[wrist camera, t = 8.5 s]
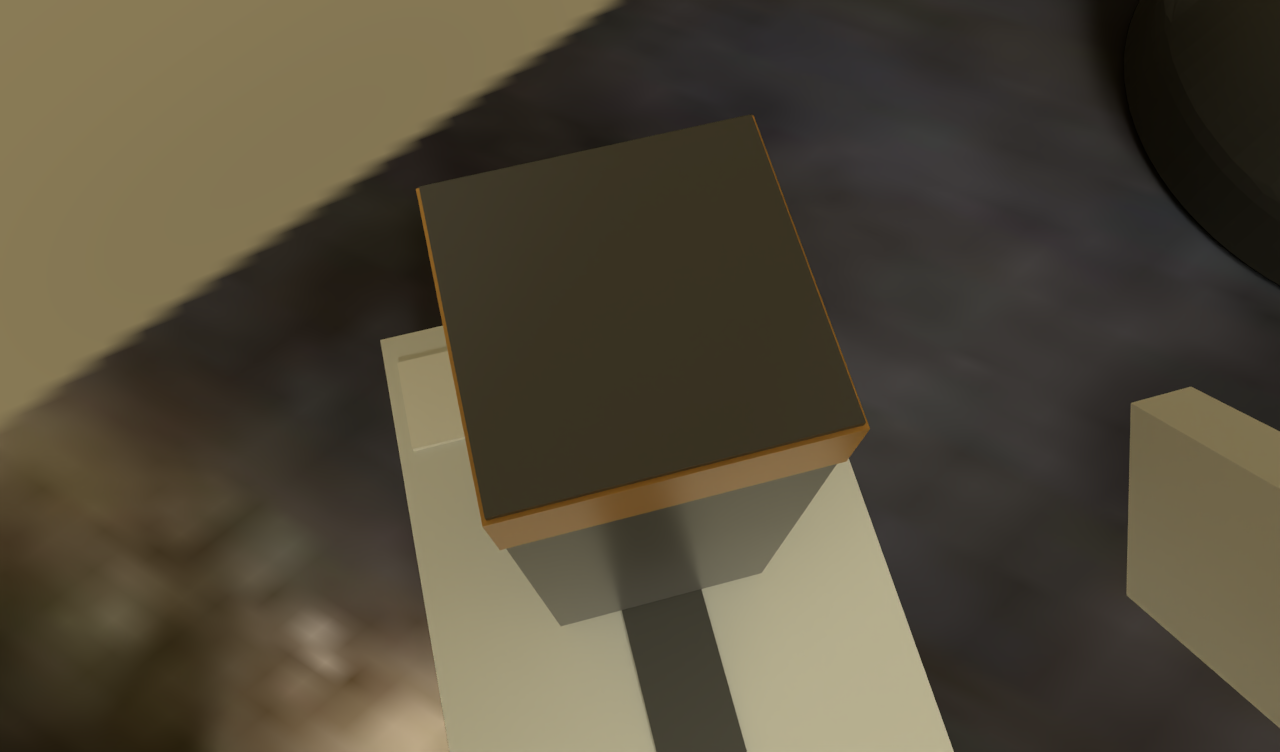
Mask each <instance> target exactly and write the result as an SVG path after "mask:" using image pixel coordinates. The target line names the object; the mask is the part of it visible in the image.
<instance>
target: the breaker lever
mask: <svg viewBox="0 0 1280 752" xmlns="http://www.w3.org/2000/svg"><path fill="white" fill-rule="evenodd" d="M416 192H417V197H418V202H419V207H420V213H421V218H422V223H423V228H424V233H425V238H426V243H427V248H428V253H429V258H430V263H431V268H432V273H433V278H434V284H435V289H436V294H437V299H438V304H439V309H440V314H441V319H442V324H443V329H444V334H445V339H446V344H447V350H448V355H449V360H450V365H451V370H452V375H453V380H454V385H455V390H456V395H457V400H458V405H459V410H460V415H461V421H462V426H463V431H464V436H465V441H466V446H467V451H468V456H469V461H470V466H471V471H472V476H473V481H474V486H475V492H476V497H477V502H478V507H479V512H480V517H481V522H482V527H483V528H484V530H485V531H486V532H487V534H488V535H489V536H490V538H491V539H492V540H493V542H494V543H495V544H496V546H497V547H498V548H499V550H503V549H507V551H508V552H509V554H510V555H511V556H512V558H513V559H514V561H515V562H516V563H517V565H518V566H519V568H520V569H521V571H522V572H523V573H524V575H525V576H526V578H527V579H528V581H529V582H530V583H531V585H532V586H533V588H534V589H535V590H536V592H537V593H538V595H539V596H540V598H541V599H542V600H543V602H544V603H545V605H546V606H547V608H548V609H549V610H550V612H551V613H552V615H553V616H554V617H555V619H556V620H557V622H558V623H559V625H560V626H564V625H568V624H572V623H575V622H579V621H583V620H587V619H590V618H594V617H598V616H602V615H605V614H609V613H613V612H617V611H621V610H624V609H628V608H632V607H636V606H639V605H643V604H647V603H651V602H654V601H658V600H662V599H666V598H670V597H673V596H677V595H681V594H685V593H688V592H692V591H696V590H700V589H703V588H707V587H711V586H715V585H719V584H722V583H726V582H730V581H734V580H737V579H741V578H745V577H749V576H752V575H756V574H760V573H762V572H763V570H764V569H765V567H766V566H767V564H768V563H769V562H770V560H771V559H772V557H773V556H774V554H775V553H776V551H777V550H778V549H779V547H780V546H781V544H782V543H783V541H784V540H785V538H786V537H787V536H788V534H789V533H790V531H791V530H792V528H793V527H794V525H795V524H796V523H797V521H798V520H799V518H800V517H801V515H802V514H803V512H804V511H805V510H806V508H807V507H808V505H809V504H810V502H811V501H812V499H813V498H814V497H815V495H816V494H817V492H818V491H819V489H820V488H821V486H822V485H823V484H824V482H825V481H826V479H827V478H828V476H829V475H830V473H831V472H832V471H833V469H834V468H835V466H836V465H837V464H839V463H843V462H846V461H847V460H848V458H849V457H850V456H851V454H852V453H853V452H854V450H855V449H856V447H857V446H858V445H859V443H860V442H861V440H862V439H863V438H864V436H865V435H866V433H867V432H868V431H869V429H870V427H869V425H868V422H867V419H866V417H865V414H864V411H863V408H862V406H861V403H860V400H859V398H858V395H857V392H856V390H855V387H854V384H853V382H852V379H851V376H850V374H849V371H848V368H847V365H846V363H845V360H844V357H843V355H842V352H841V349H840V347H839V344H838V341H837V339H836V336H835V333H834V331H833V328H832V325H831V322H830V320H829V317H828V314H827V312H826V309H825V306H824V304H823V301H822V298H821V296H820V293H819V290H818V288H817V285H816V282H815V279H814V277H813V274H812V271H811V269H810V266H809V263H808V261H807V258H806V255H805V253H804V250H803V247H802V245H801V242H800V239H799V236H798V234H797V231H796V228H795V226H794V223H793V220H792V218H791V215H790V212H789V210H788V207H787V204H786V202H785V199H784V196H783V193H782V191H781V188H780V185H779V183H778V180H777V177H776V175H775V172H774V169H773V167H772V164H771V161H770V159H769V156H768V153H767V150H766V148H765V145H764V142H763V140H762V137H761V134H760V132H759V129H758V126H757V124H756V121H755V118H754V116H752V114H750V115H746V116H741V117H737V118H732V119H727V120H723V121H718V122H714V123H709V124H704V125H700V126H695V127H691V128H686V129H681V130H677V131H672V132H668V133H663V134H658V135H654V136H649V137H645V138H640V139H636V140H631V141H626V142H622V143H617V144H613V145H608V146H603V147H599V148H594V149H590V150H585V151H580V152H576V153H571V154H567V155H562V156H557V157H553V158H548V159H544V160H539V161H534V162H530V163H525V164H521V165H516V166H511V167H507V168H502V169H498V170H493V171H488V172H484V173H479V174H475V175H470V176H465V177H461V178H456V179H452V180H447V181H443V182H438V183H433V184H429V185H424V186H420V187H419V188H418V189H416Z"/></svg>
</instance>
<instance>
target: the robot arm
mask: <svg viewBox="0 0 1280 752" xmlns="http://www.w3.org/2000/svg"><path fill="white" fill-rule="evenodd" d="M1124 82H1125V89H1126V96H1127V100H1128V105H1129V109H1130V113H1131V116H1132V119H1133V122H1134V125H1135V128H1136V130H1137V133H1138V135H1139V138H1140V140H1141V142H1142V145H1143V147H1144V149H1145V151H1146V152H1147V154H1148V156H1149V158H1150V160H1151V162H1152V164H1153V165H1154V167H1155V169H1156V170H1157V172H1158V173H1159V175H1160V177H1161V178H1162V179H1163V181H1164V182H1165V184H1166V185H1167V187H1168V188H1169V189H1170V191H1171V192H1172V193H1173V195H1174V196H1175V197H1176V198H1177V200H1178V201H1179V202H1180V203H1181V205H1182V206H1183V207H1184V208H1185V209H1186V210H1187V211H1188V212H1189V214H1190V215H1191V216H1192V217H1193V218H1194V219H1195V220H1196V221H1197V222H1198V223H1199V224H1200V225H1201V226H1202V227H1203V228H1204V229H1205V230H1206V231H1207V232H1208V233H1209V234H1210V235H1211V236H1212V237H1213V238H1215V239H1216V240H1217V241H1218V242H1219V243H1220V244H1222V245H1223V246H1224V247H1225V248H1226V249H1227V250H1229V251H1230V252H1231V253H1232V254H1234V255H1235V256H1236V257H1238V258H1239V259H1240V260H1242V261H1243V262H1244V263H1246V264H1247V265H1248V266H1250V267H1251V268H1253V269H1254V270H1256V271H1257V272H1259V273H1260V274H1262V275H1263V276H1265V277H1266V278H1268V279H1270V280H1271V281H1273V282H1275V283H1276V284H1278V285H1280V0H1140V1H1139V3H1138V5H1137V7H1136V9H1135V12H1134V14H1133V17H1132V20H1131V22H1130V26H1129V29H1128V33H1127V37H1126V44H1125V50H1124ZM1126 595H1127V596H1128V597H1129V598H1130V599H1132V600H1133V601H1134V602H1135V603H1136V604H1137V605H1138V606H1140V607H1141V608H1142V609H1143V610H1144V611H1145V612H1147V613H1148V614H1149V615H1150V616H1151V617H1152V618H1153V619H1155V620H1156V621H1157V622H1158V623H1159V624H1160V625H1162V626H1163V627H1164V628H1165V629H1166V630H1167V631H1168V632H1170V633H1171V634H1172V635H1173V636H1174V637H1175V638H1176V639H1178V640H1179V641H1180V642H1181V643H1182V644H1183V645H1185V646H1186V647H1187V648H1188V649H1189V650H1190V651H1191V652H1193V653H1194V654H1195V655H1196V656H1197V657H1198V658H1200V659H1201V660H1202V661H1203V662H1204V663H1205V664H1206V665H1208V666H1209V667H1210V668H1211V669H1212V670H1213V671H1215V672H1216V673H1217V674H1218V675H1219V676H1220V677H1221V678H1223V679H1224V680H1225V681H1226V682H1227V683H1228V684H1230V685H1231V686H1232V687H1233V688H1234V689H1235V690H1236V691H1238V692H1239V693H1240V694H1241V695H1242V696H1243V697H1244V698H1246V699H1247V700H1248V701H1249V702H1250V703H1251V704H1253V705H1254V706H1255V707H1256V708H1257V709H1258V710H1259V711H1261V712H1262V713H1263V714H1264V715H1265V716H1266V717H1268V718H1269V719H1270V720H1271V721H1272V722H1273V723H1274V724H1276V725H1277V726H1278V727H1279V728H1280V432H1279V431H1277V430H1275V429H1273V428H1271V427H1269V426H1267V425H1266V424H1264V423H1262V422H1260V421H1258V420H1256V419H1254V418H1252V417H1250V416H1248V415H1246V414H1244V413H1242V412H1240V411H1238V410H1236V409H1234V408H1232V407H1230V406H1228V405H1226V404H1224V403H1222V402H1220V401H1218V400H1216V399H1214V398H1212V397H1210V396H1208V395H1206V394H1204V393H1202V392H1200V391H1199V390H1197V389H1195V388H1193V387H1188V388H1184V389H1181V390H1177V391H1173V392H1170V393H1166V394H1162V395H1159V396H1155V397H1151V398H1148V399H1144V400H1140V401H1137V402H1133V403H1131V421H1130V464H1129V507H1128V550H1127V593H1126Z"/></svg>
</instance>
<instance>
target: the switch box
mask: <svg viewBox="0 0 1280 752" xmlns="http://www.w3.org/2000/svg"><path fill="white" fill-rule="evenodd" d="M380 341H381V347H382V353H383V359H384V365H385V371H386V377H387V383H388V389H389V395H390V401H391V407H392V413H393V419H394V425H395V431H396V437H397V443H398V449H399V455H400V461H401V466H402V472H403V478H404V484H405V490H406V496H407V502H408V508H409V514H410V520H411V526H412V532H413V538H414V544H415V550H416V556H417V562H418V568H419V574H420V580H421V586H422V592H423V597H424V603H425V609H426V615H427V621H428V627H429V633H430V639H431V645H432V651H433V657H434V663H435V669H436V675H437V681H438V687H439V693H440V699H441V705H442V711H443V717H444V723H445V729H446V734H447V740H448V746H449V752H954V751H953V748H952V746H951V743H950V740H949V737H948V734H947V732H946V729H945V726H944V723H943V720H942V718H941V715H940V712H939V709H938V706H937V704H936V701H935V698H934V695H933V693H932V690H931V687H930V684H929V681H928V679H927V676H926V673H925V670H924V667H923V665H922V662H921V659H920V656H919V653H918V651H917V648H916V645H915V642H914V640H913V637H912V634H911V631H910V628H909V626H908V623H907V620H906V617H905V614H904V612H903V609H902V606H901V603H900V600H899V598H898V595H897V592H896V589H895V586H894V584H893V581H892V578H891V575H890V573H889V570H888V567H887V564H886V561H885V559H884V556H883V553H882V550H881V547H880V545H879V542H878V539H877V536H876V533H875V531H874V528H873V525H872V522H871V519H870V517H869V514H868V511H867V508H866V506H865V503H864V500H863V497H862V494H861V492H860V489H859V486H858V483H857V480H856V478H855V475H854V472H853V469H852V466H851V464H850V461H849V458H848V460H847V461H846V462H843V463H839V464H837V465H836V466H835V468H834V469H833V471H832V472H831V473H830V475H829V476H828V478H827V479H826V481H825V482H824V484H823V485H822V486H821V488H820V489H819V491H818V492H817V494H816V495H815V497H814V498H813V499H812V501H811V502H810V504H809V505H808V507H807V508H806V510H805V511H804V512H803V514H802V515H801V517H800V518H799V520H798V521H797V523H796V524H795V525H794V527H793V528H792V530H791V531H790V533H789V534H788V536H787V537H786V538H785V540H784V541H783V543H782V544H781V546H780V547H779V549H778V550H777V551H776V553H775V554H774V556H773V557H772V559H771V560H770V562H769V563H768V564H767V566H766V567H765V569H764V570H763V572H762V573H760V574H756V575H752V576H749V577H745V578H741V579H737V580H734V581H730V582H726V583H722V584H719V585H715V586H711V587H707V588H703V589H700V590H696V591H692V592H688V593H685V594H681V595H677V596H673V597H670V598H666V599H662V600H658V601H654V602H651V603H647V604H643V605H639V606H636V607H632V608H628V609H624V610H621V611H617V612H613V613H609V614H605V615H602V616H598V617H594V618H590V619H587V620H583V621H579V622H575V623H572V624H568V625H564V626H560V625H559V623H558V622H557V620H556V619H555V617H554V616H553V615H552V613H551V612H550V610H549V609H548V608H547V606H546V605H545V603H544V602H543V600H542V599H541V598H540V596H539V595H538V593H537V592H536V590H535V589H534V588H533V586H532V585H531V583H530V582H529V581H528V579H527V578H526V576H525V575H524V573H523V572H522V571H521V569H520V568H519V566H518V565H517V563H516V562H515V561H514V559H513V558H512V556H511V555H510V554H509V552H508V551H507V549H503V550H499V548H498V547H497V546H496V544H495V543H494V542H493V540H492V539H491V538H490V536H489V535H488V534H487V532H486V531H485V530H484V528H483V527H482V522H481V517H480V512H479V507H478V502H477V497H476V492H475V486H474V481H473V476H472V471H471V466H470V461H469V456H468V451H467V446H466V441H465V436H464V431H463V426H462V421H461V415H460V410H459V405H458V400H457V395H456V390H455V385H454V380H453V375H452V370H451V365H450V360H449V355H448V350H447V344H446V339H445V334H444V329H443V326H439V327H434V328H430V329H426V330H422V331H417V332H413V333H409V334H404V335H400V336H396V337H391V338H387V339H383V340H380Z"/></svg>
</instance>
